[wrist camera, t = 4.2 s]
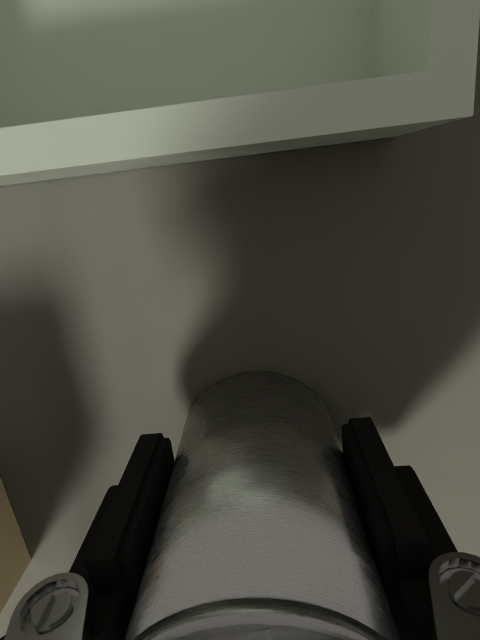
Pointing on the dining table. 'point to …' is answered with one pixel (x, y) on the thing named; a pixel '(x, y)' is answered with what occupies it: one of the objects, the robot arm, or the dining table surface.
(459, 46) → the tote
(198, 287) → the dining table surface
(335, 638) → the steel can
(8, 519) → the cardboard box
